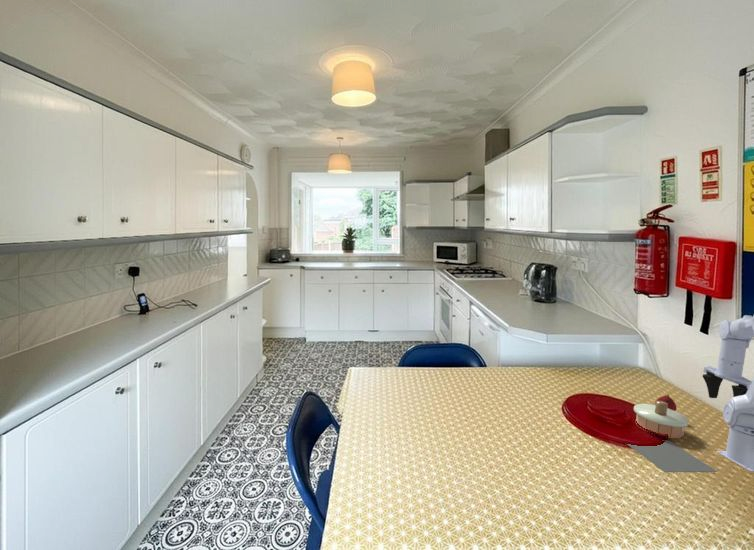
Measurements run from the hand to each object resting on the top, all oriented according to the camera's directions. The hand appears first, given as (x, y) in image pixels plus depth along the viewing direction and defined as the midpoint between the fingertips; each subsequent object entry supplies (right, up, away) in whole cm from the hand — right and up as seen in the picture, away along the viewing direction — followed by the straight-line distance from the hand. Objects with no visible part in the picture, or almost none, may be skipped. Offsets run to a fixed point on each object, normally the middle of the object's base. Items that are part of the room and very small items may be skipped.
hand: (724, 402), depth 120 cm
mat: (-28, -10, -14) cm, 33 cm away
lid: (-19, -5, +2) cm, 19 cm away
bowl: (-19, -9, +2) cm, 21 cm away
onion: (-10, -9, +12) cm, 18 cm away
